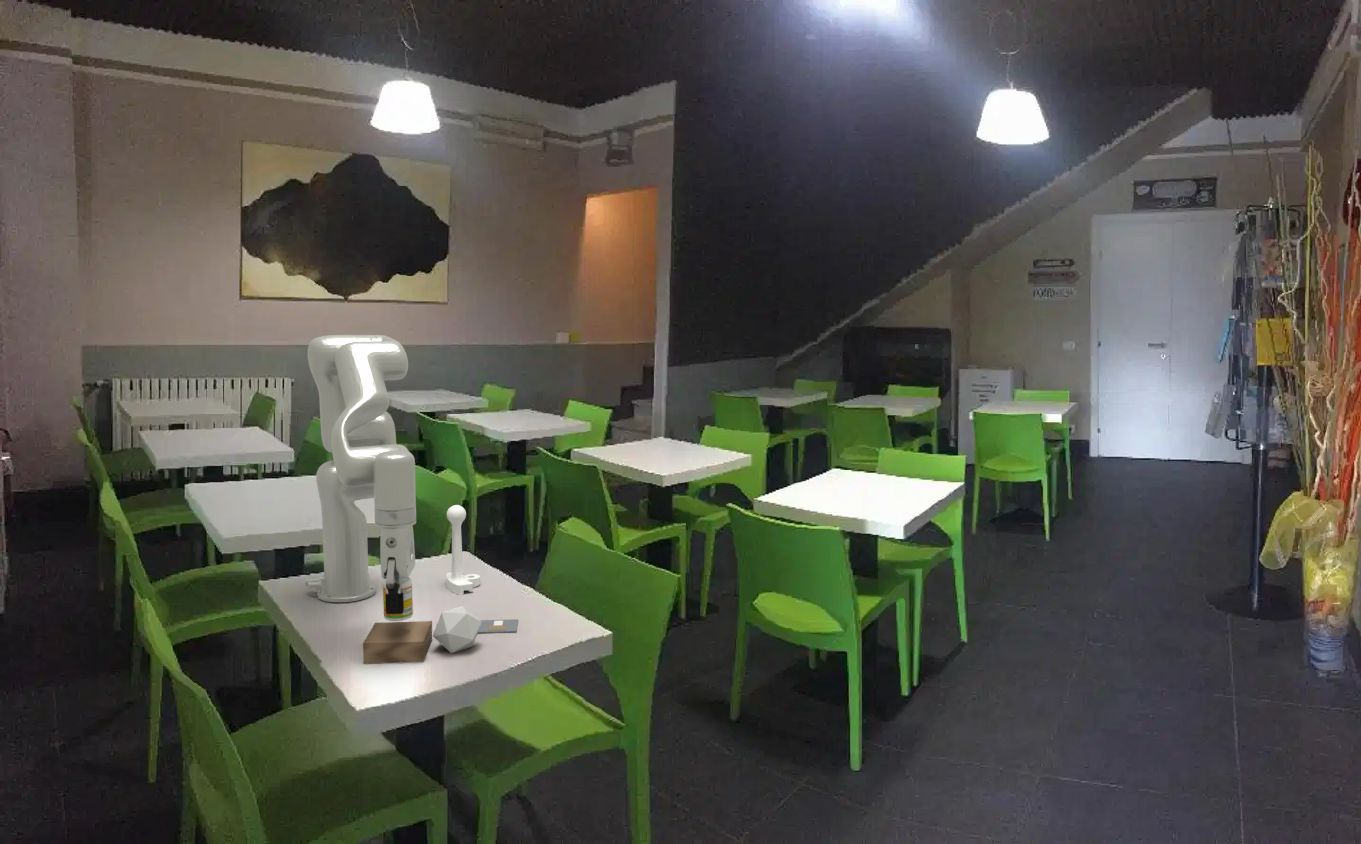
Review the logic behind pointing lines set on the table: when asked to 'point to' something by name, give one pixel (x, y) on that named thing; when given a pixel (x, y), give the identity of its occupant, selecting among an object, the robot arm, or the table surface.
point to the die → (457, 629)
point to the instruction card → (498, 626)
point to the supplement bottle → (407, 600)
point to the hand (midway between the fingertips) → (397, 607)
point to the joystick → (458, 555)
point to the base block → (397, 642)
